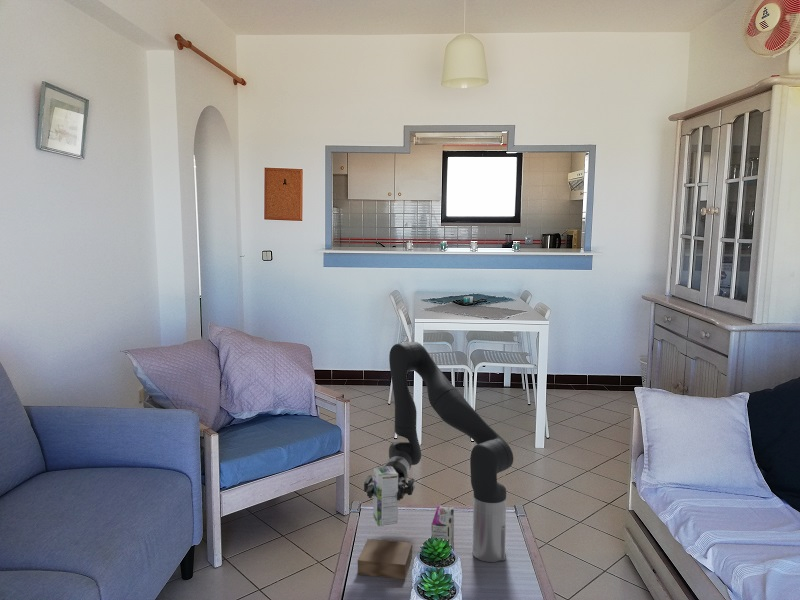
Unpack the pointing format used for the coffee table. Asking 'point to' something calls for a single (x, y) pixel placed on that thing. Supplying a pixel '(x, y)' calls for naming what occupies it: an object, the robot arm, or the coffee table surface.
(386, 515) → the syrup box
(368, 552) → the walnut riser
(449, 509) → the candy bar box
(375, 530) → the coffee table surface
